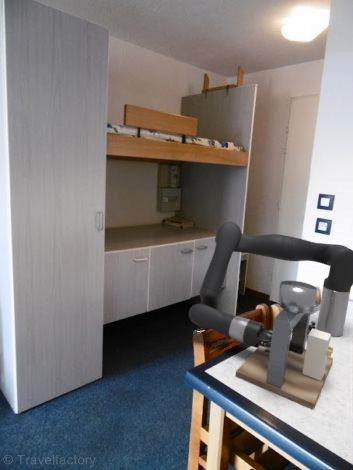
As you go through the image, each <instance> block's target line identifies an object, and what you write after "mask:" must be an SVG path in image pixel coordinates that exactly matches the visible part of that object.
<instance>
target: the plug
mask: <svg viewBox="0 0 353 470" xmlns="http://www.w3.org/2000/svg"><path fill="white" fill-rule="evenodd" d="M307 336H308V338H307V340H306V346H305V349H306V354H305V360H304V367H303V373H302V374H304V375H307V376H309V377H312V378H315V379H317V380H320V381H321V380H322V378H323V375H324V373H325V368H326V362H327V356H328V357H331V358H332V354H333V351H334V347H332V346H330V343H331V338H332V336H331V334H329V333H326V332H322V331H319V330H317V328H315V329H312V330H311V332H310V333H309V335H307Z"/></svg>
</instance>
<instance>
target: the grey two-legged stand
mask: <svg viewBox="0 0 353 470" xmlns="http://www.w3.org/2000/svg"><path fill="white" fill-rule="evenodd" d="M278 289H279V290H278V298H277V306H278V307H280V308H281V309H282V310H281V311H280V312H279V313H278V314H277V315H276V316H275V317H274V319H273V327H272V331H273V333H272V340H271V348H270V355H269V363H268V370H267V378H266V383H268V384H270V385H273V386H275V387H278V388H280V389H281V387H282V386H283V384H284V380H285V373H286V366H287V359H288V352H289V345H290V338H291V342H293V343H296V344H299V345H302V346H304V350H305V349H306V345H307V339H308V338H307V336H308V335H307V331H308V325H310V317H311V313H313V312H315V307H316V301H317V294H318V288H317V287H316V286H314V285H312V284H310V283H307V282H303V281H298V280H282V281H280V283H279V288H278Z"/></svg>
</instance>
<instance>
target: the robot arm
mask: <svg viewBox="0 0 353 470" xmlns="http://www.w3.org/2000/svg"><path fill="white" fill-rule="evenodd" d="M214 242H215V247H214V251H213V255H212V258H211V261H210V263H209V265H208V268H207V270H206V272H205V275H204V278H203V281H202V284H201V286H200V290H199V297H200V303H196V304H192V306H191V307H190V308H189V311H188V317H189V320H190V321H191V322H192V323H194V325H196V326H197V327H198V328H201V329H205V330H206V329H211V330H213V331H215V332H216V333H218V334H220V335H222V336H226V337H228V338H230V339H233V340H235V341H237V342H240V343H242V344H245V345H248V346H250V347H253V348H256V349H257V348H258V347H259V346H260V345H261V346H263V347H264V348H265V352H267V353H270V348H271V340H272V333H273V330H270V329H266V327H265V324H264V323H261V322H258V321H255V320H251V319H249V318H245V317H241V316H236V315H233V314H230V313H227V312H223V311H221V310H218V304H219V298H220V296H221V292H222V288H223V285H224V282H225V278H226V274H227V271H228V267H229V264H230V260H231V257H232V255H233V253H244V254H252V255H257V256H261V257H266V258H272V259H275V260H281V261H287V262H288V261H289V262H307V261H308V262H314V263H317V264H318V263H319V264H323V265H325V266H329V271H328V276H327V277H326V278H324V281H323V284H322V291H321V298H320V304H319V310H318V316H317V317H318V318H317V323H316V330H319V331H322V332H326V333H329V334H331V337H341V336H343V335H344V328H345V323H346V318H347V313H348V312H347V311H348V308H349V307H348V306H349V302H350V294H351V291H352V287H353V249H351V248H349V247H347V246H345V245H343V244H337V243H336V244H333V243H324V242H322V243H321V242H314V241H311V240H308V239H307V240H306V239H303V238H299V237H294V236H291V235H290V236H289V235H285V234H284V235H283V234H277V233H275V234H273V233H272V234H261V235H252V234H251V235H250V234H246V233H242V229H241V227H240V226H239V225H238V223H236V222H233V221H226V222H224V223H222V224H221V225H220V226H219V227H218V228H217V230H216V234H215V238H214ZM289 351H292V352H294V353H297V354H300V355H302V353H303V351H304V346H302V345H299V344H296V343H293V342H291V338H290V345H289Z"/></svg>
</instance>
